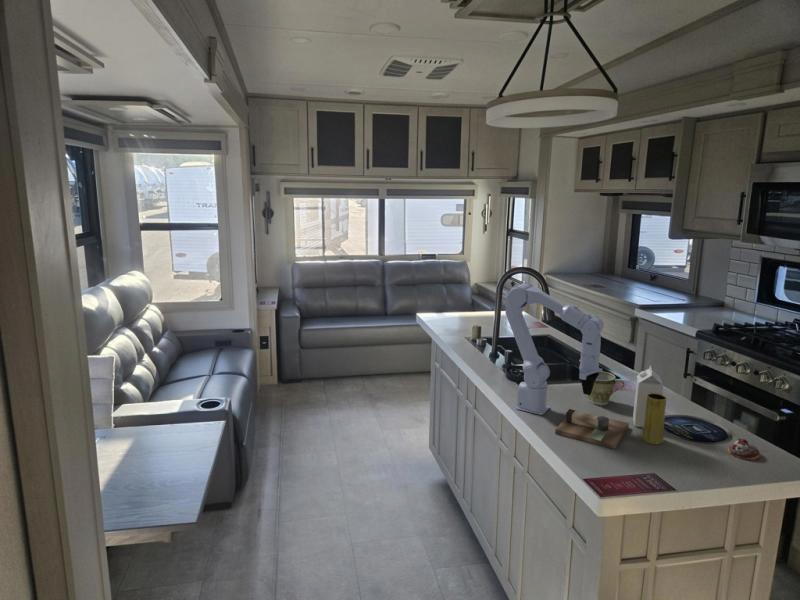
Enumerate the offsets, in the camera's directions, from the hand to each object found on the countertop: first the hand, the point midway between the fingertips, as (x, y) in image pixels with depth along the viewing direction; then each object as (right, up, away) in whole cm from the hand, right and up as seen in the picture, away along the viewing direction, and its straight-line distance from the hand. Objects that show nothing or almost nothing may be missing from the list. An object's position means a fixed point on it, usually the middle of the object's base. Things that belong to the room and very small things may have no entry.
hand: (587, 393), depth 179 cm
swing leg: (-2, -9, -5) cm, 10 cm away
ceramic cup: (+11, -6, +16) cm, 21 cm away
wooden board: (0, -11, -5) cm, 12 cm away
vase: (+16, -12, -11) cm, 23 cm away
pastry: (+39, -14, -20) cm, 46 cm away
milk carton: (+19, -10, 0) cm, 21 cm away
